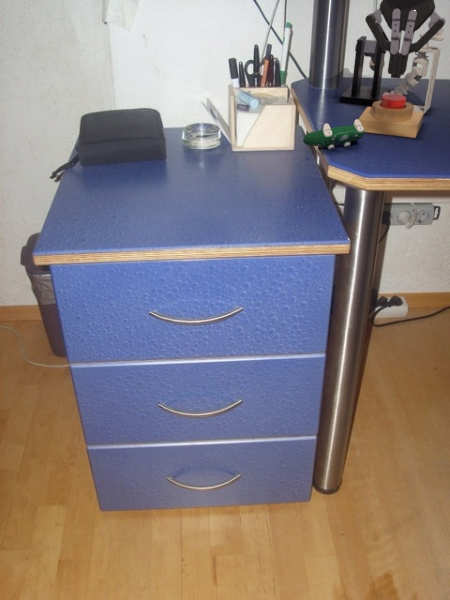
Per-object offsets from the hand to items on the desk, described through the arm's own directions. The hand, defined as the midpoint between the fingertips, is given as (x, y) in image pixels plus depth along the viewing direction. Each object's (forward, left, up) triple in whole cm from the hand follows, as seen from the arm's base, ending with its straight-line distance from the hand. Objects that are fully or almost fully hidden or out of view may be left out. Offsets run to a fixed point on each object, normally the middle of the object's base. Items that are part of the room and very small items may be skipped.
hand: (396, 77), depth 100 cm
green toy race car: (+8, +11, -9) cm, 17 cm away
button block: (0, 0, -9) cm, 9 cm away
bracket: (+8, -18, -9) cm, 22 cm away
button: (0, 0, -5) cm, 5 cm away
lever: (+8, -23, -3) cm, 24 cm away
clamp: (-1, -13, -9) cm, 16 cm away
